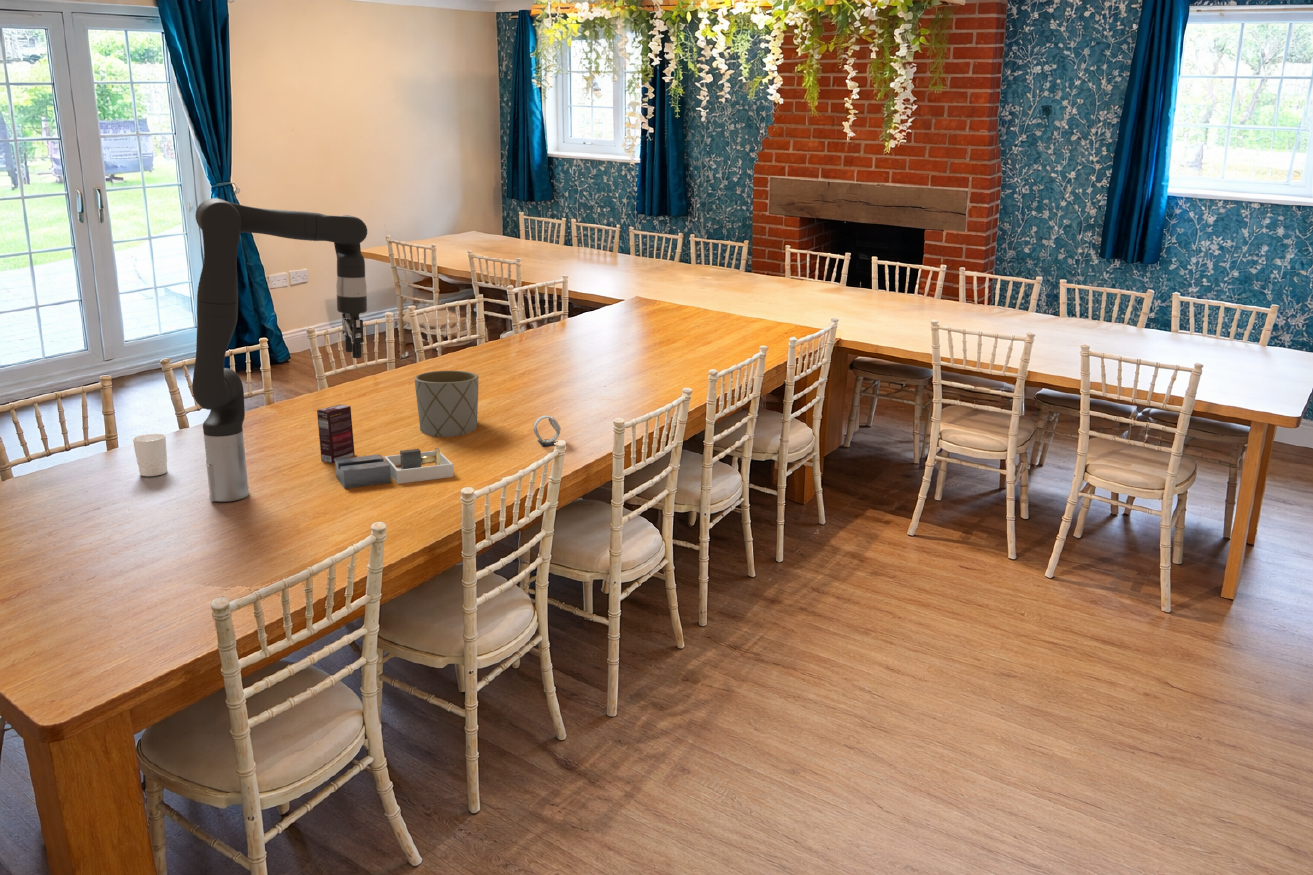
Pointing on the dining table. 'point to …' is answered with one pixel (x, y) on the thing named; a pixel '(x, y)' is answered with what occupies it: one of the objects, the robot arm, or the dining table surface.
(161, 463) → the white cup
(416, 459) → the t key
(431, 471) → the key tray
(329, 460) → the supplement box
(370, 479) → the plate
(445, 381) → the planter
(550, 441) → the watch
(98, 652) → the dining table surface
